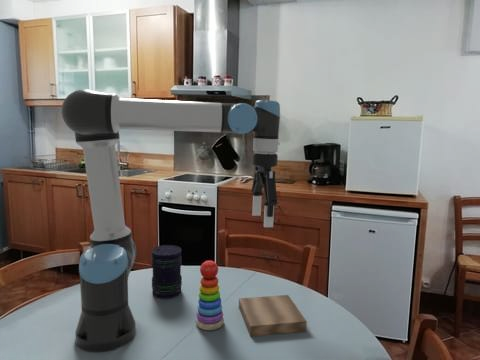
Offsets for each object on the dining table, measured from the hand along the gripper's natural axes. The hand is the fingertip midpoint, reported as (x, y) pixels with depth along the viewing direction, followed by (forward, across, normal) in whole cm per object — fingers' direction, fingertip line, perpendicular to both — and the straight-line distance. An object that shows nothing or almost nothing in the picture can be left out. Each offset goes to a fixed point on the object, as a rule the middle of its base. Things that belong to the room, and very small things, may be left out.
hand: (262, 220), depth 114 cm
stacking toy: (+28, -10, +17) cm, 34 cm away
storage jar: (+28, +12, +29) cm, 42 cm away
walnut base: (+27, -10, -1) cm, 29 cm away
